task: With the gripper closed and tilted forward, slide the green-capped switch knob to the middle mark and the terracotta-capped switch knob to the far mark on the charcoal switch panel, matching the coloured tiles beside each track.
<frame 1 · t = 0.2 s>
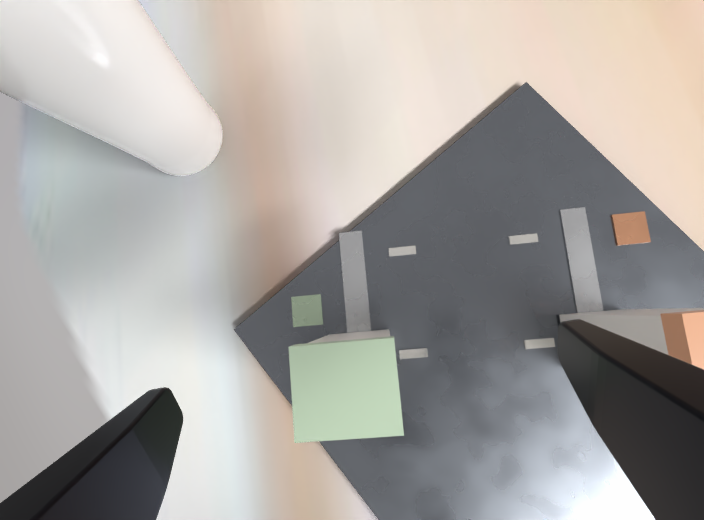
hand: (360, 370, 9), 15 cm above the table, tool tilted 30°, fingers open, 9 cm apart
terracotta slider: (653, 346, 17), point 5 cm above the table, slide at 0.0 cm
green slider: (355, 369, 18), point 5 cm above the table, slide at 0.0 cm
switch panel: (517, 358, 22), on the table
white rounded cylinder: (189, 142, 26), on the table
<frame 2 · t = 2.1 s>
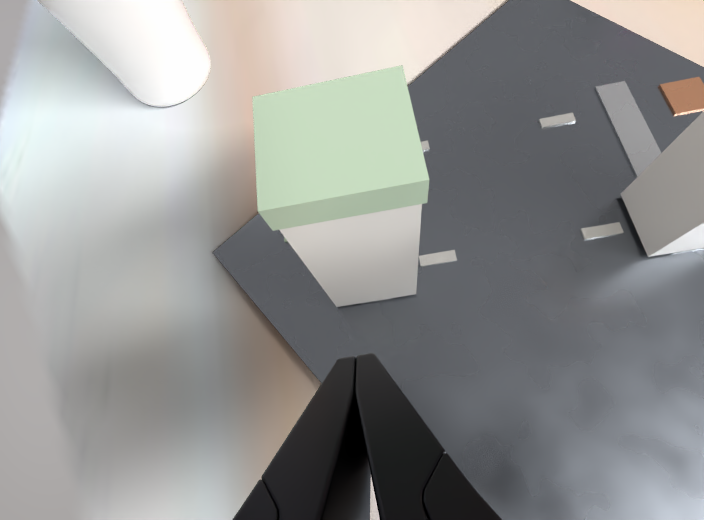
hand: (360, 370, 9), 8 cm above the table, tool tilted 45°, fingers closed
green slider: (358, 223, 13), point 5 cm above the table, slide at 0.0 cm
switch panel: (576, 257, 17), on the table
white rounded cylinder: (176, 80, 25), on the table
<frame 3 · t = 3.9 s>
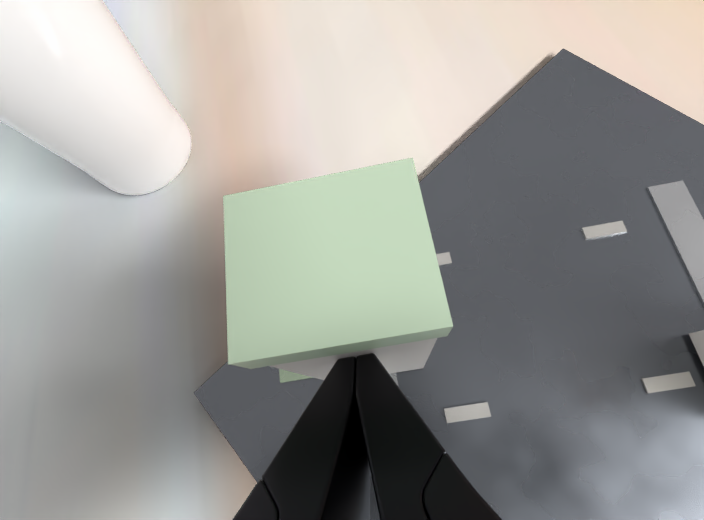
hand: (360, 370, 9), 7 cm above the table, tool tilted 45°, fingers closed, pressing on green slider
green slider: (357, 311, 11), point 5 cm above the table, slide at 3.3 cm, touching gripper
switch panel: (635, 411, 14), on the table
white rounded cylinder: (152, 158, 21), on the table
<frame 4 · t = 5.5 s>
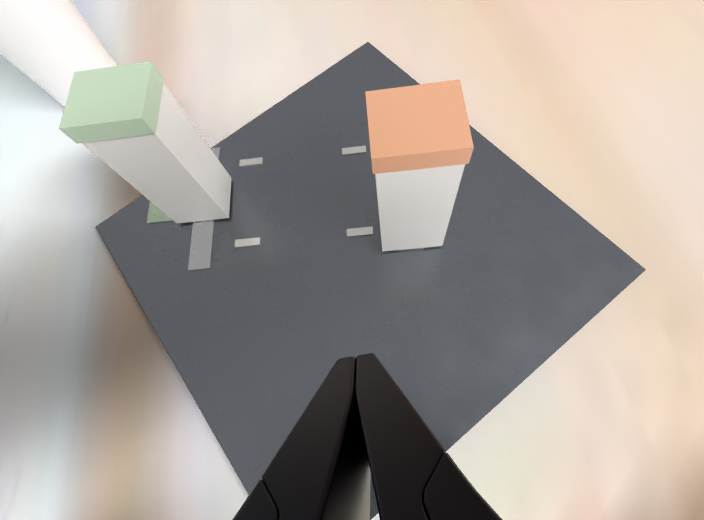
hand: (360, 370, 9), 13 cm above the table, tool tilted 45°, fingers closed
terracotta slider: (412, 184, 19), point 5 cm above the table, slide at 0.0 cm
green slider: (165, 158, 21), point 5 cm above the table, slide at 3.3 cm
switch panel: (343, 249, 24), on the table
white rounded cylinder: (98, 93, 31), on the table
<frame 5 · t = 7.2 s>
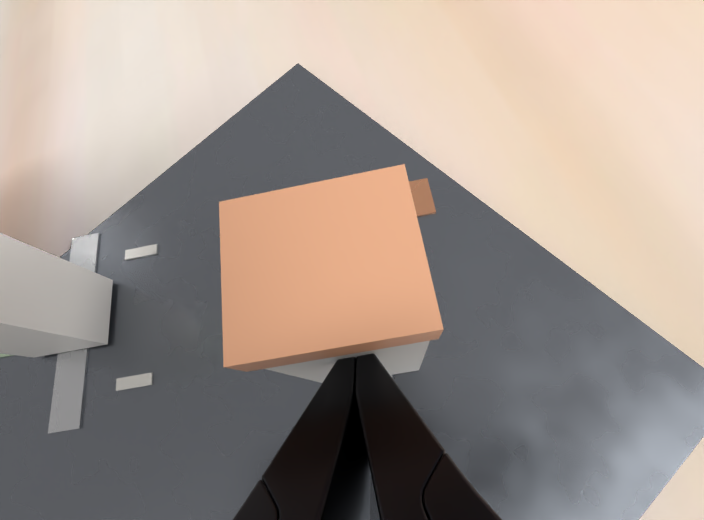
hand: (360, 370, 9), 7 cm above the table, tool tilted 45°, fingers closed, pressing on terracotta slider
terracotta slider: (353, 314, 11), point 5 cm above the table, slide at 0.1 cm, touching gripper
switch panel: (275, 379, 16), on the table
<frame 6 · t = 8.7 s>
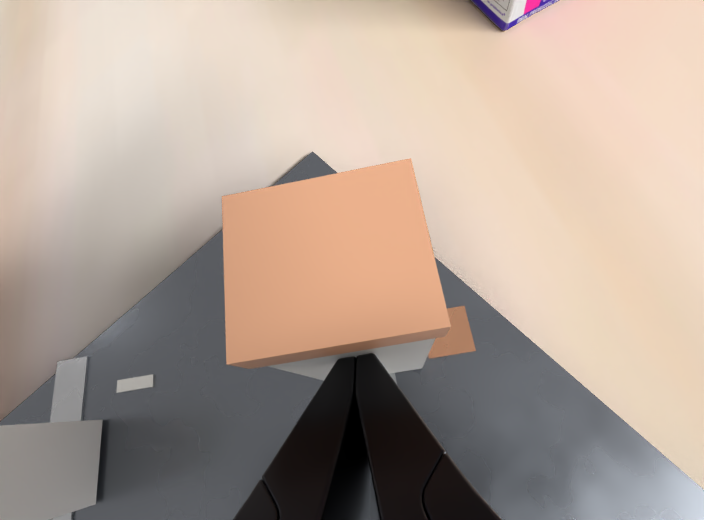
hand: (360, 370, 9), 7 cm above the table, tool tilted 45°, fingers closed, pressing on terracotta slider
terracotta slider: (356, 311, 11), point 5 cm above the table, slide at 6.3 cm, touching gripper
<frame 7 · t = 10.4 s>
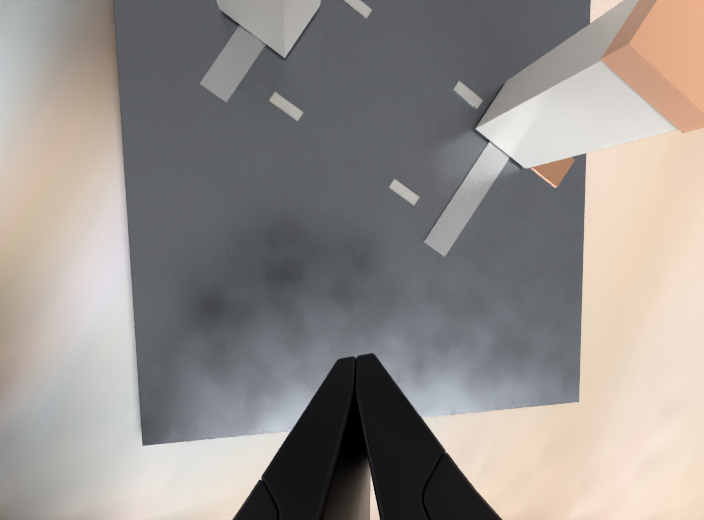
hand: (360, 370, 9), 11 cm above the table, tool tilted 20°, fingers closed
terracotta slider: (582, 94, 16), point 5 cm above the table, slide at 6.3 cm
switch panel: (375, 193, 20), on the table
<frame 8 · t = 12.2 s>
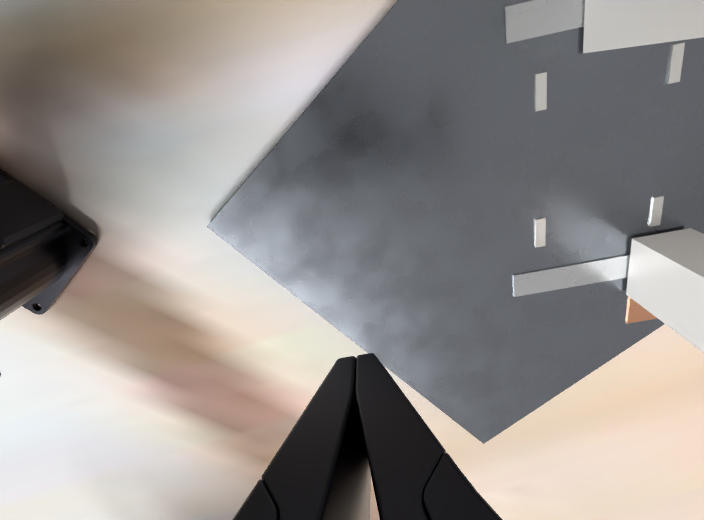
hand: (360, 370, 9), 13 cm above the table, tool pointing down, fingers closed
switch panel: (520, 212, 21), on the table
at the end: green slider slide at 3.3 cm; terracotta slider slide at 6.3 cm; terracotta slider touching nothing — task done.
